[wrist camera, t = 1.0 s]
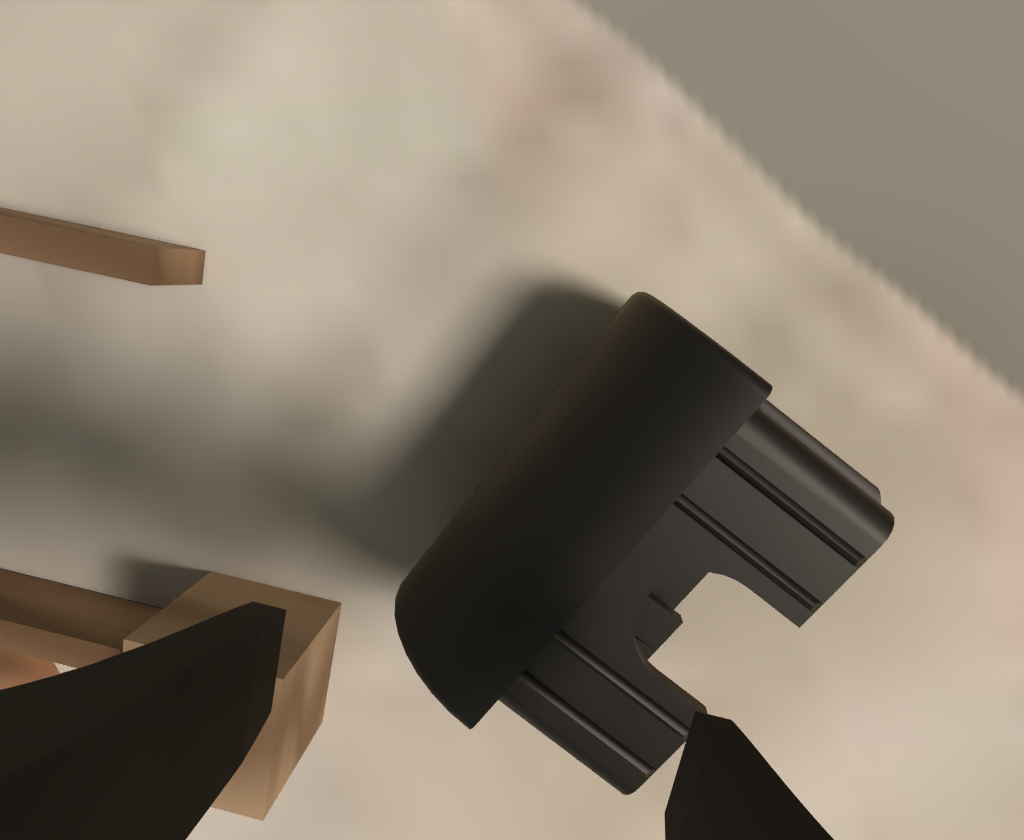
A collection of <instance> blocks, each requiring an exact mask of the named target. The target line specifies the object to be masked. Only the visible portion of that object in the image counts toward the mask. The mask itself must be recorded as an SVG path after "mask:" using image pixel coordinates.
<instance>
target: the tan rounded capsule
mask: <svg viewBox="0 0 1024 840" xmlns="http://www.w3.org/2000/svg"><path fill="white" fill-rule="evenodd" d="M58 674H60V673H59V671H58V669H57V667H56V666H55V664H54V663H53V662H51V661H47V660H43V659H39V658H35V657H32V656H28V655H24V654H20V653H16V652H12V651H8V650H4V649H0V690H1V689H6V688H10V687H14V686H18V685H22V684H25V683H29V682H33V681H36V680H40V679H44V678H47V677H51V676H54V675H58Z"/></svg>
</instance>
